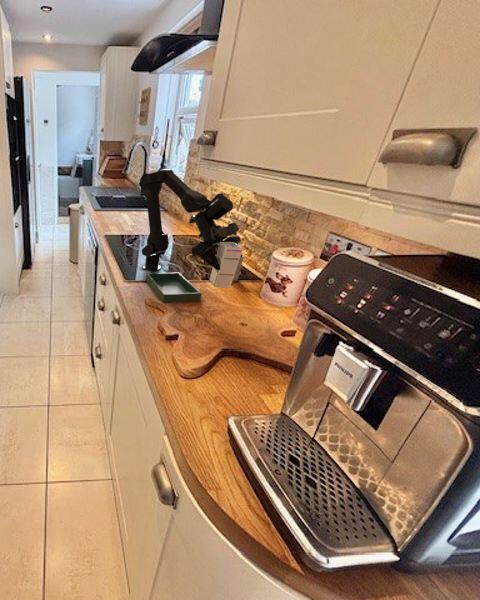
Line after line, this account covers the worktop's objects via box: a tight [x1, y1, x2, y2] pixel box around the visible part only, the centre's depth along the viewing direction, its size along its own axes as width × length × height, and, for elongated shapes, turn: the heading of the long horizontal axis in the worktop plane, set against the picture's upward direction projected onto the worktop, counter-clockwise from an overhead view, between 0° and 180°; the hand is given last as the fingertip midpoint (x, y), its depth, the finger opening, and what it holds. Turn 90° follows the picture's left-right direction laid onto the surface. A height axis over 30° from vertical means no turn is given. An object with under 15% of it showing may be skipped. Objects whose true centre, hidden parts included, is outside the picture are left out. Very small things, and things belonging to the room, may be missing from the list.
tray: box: [145, 271, 202, 303], centre depth 121 cm, size 20×14×3 cm
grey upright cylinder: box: [232, 254, 245, 282], centre depth 130 cm, size 4×4×10 cm
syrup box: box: [209, 242, 243, 289], centre depth 109 cm, size 6×6×14 cm
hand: (227, 268), depth 109 cm, fingers closed on syrup box, 7 cm apart
